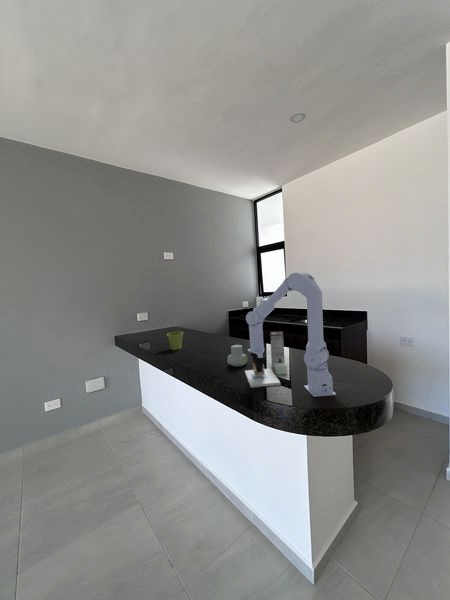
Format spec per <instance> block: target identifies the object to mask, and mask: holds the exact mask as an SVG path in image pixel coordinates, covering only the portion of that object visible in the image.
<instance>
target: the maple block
mask: <svg viewBox="0 0 450 600" xmlns="http://www.w3.org/2000/svg"><path fill="white" fill-rule="evenodd" d="M252 366H253V367H252V368H253V369H252V370H254V374H255V375H265V374H264V369H265V365H264V364H263V369H262V372H257V370H256V366H255V363H254V362H253V364H252Z"/></svg>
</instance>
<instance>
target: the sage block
mask: <svg viewBox="0 0 450 600" xmlns="http://www.w3.org/2000/svg"><path fill="white" fill-rule="evenodd" d="M274 368H275V370H274V372H275V374H277V375H279V376H280V375H287V364H284V363H275V367H274Z"/></svg>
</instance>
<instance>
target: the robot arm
mask: <svg viewBox="0 0 450 600" xmlns="http://www.w3.org/2000/svg"><path fill="white" fill-rule="evenodd" d="M293 291H295V292H298V293H300V294H301V295H303V297H305V298H306V310H307V315H306V316H307V317H306V318H307V344H306V346H305V353H304V355H303V361H304V364H305V365H306V372H307V373H306V375H307V376H306V377H307V385H304V386H303V387H304V388H305V389H306V390H307V391H308V392H309V394H311V396H313V398H314V397H316V398H317V397H327V396H336V395H337V394H336V392H335V391H334V386H333V384H334V383H333V376H332V374H331V373H330V372H329V366H328V362H327V361H328V360H329V357H330V352H329V350H328V349H327V342H325V340H324V321H323V320H324V318H323V316H324V315H323V313H324V312H323V292H322V289H321V288H320V286H319V285H318V284H317V282H316V281H315V277H313V276H312V275H311V274H310V273H307V272H300V273H299V272H292V273H290V274H289V275H288V276H287V277H286V278H285V279H284V280H283V282H282V283H281V284H280V285H279V287H278V288H277V289H275V290H274V292H273V293H272V294H271V295H270V296H269V298H264V299H261V300H259V304H258V305H256V306H255V307H254V308H253V309H252V311H249V312H247V314H246V316H245V321H246V323H247V324H248V331H249V344H250V348H248V349H247V352H249V354H250V356H251V358H252V362H253V363H255V366H256V370H257V372H262V369H263V365H264V362H265V359H266V355H265V354H264V352H265V346H264V330H263V324H264V322H265V319H266V317H267V316H268V315H269V314H271V312H272V311H274V310H275V305H276V304H277V303H278V302H279V301H280V300H281V299H282V298H283V297H285V296H286V295H287V294H288V293H289V292H293Z"/></svg>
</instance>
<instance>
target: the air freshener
mask: <svg viewBox="0 0 450 600" xmlns="http://www.w3.org/2000/svg"><path fill="white" fill-rule="evenodd" d="M230 351H231V354H228V356H227V360H226V361H227V363H228V365H230V366H233V367H244V365H246V364H247V363H248V360H249V359H248V355H247V354H245V353H243V351H244V350H243V345H241V344H234V345H231V346H230Z"/></svg>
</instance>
